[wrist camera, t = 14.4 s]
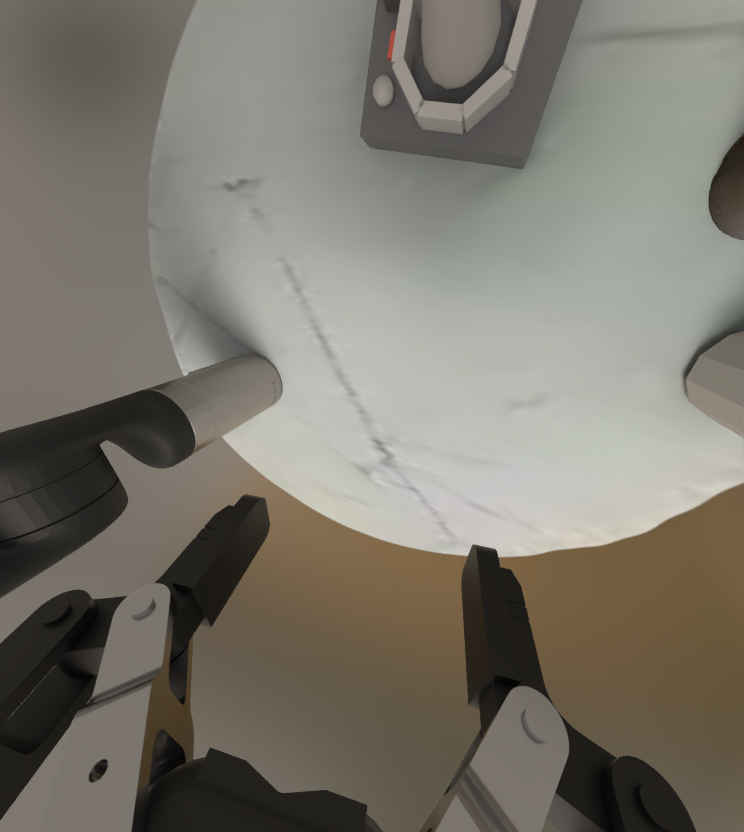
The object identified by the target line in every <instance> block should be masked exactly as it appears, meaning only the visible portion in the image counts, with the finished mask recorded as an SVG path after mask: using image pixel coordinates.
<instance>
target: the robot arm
mask: <svg viewBox="0 0 744 832" xmlns="http://www.w3.org/2000/svg"><path fill="white" fill-rule="evenodd" d="M281 392H282V384H281V380H280V377H279V375H278V373H277V371H276V369H275V368H274V367H273V366H272V364H271V363H269V362H268V361H267V360H266V359H264V358H262V357H260V356H257V355H247V356H244V357H241V358H237V357H236V358H233V359H229V360H226V361H223V362H220V363H217V364H214V365H211V366H208V367H205V368H202V369H198V370H195V371H192V372H190V373H188V375H187V376H184V377H181V378H178V379H175V380H172V381H169V382H166V383H163V384H160V385H157V386H154V387H151V388H148V389H145V390H141V391H138V392H135V393H132V394H129V395H127V396H123V397H120V398H117V399H114V400H111V401H108V402H105V403H101V404H98V405H95V406H92V407H89V408H86V409H83V410H80V411H76V412H73V413H69V414H66V415H63V416H59V417H55V418H52V419H48V420H44V421H41V422H37V423H33V424H30V425H26V426H23V427H19V428H15V429H12V430H8V431H5V432H1V433H0V598H2V597H3V596H5V595H6V594H8V593H9V592H11V591H13V590H14V589H16V588H17V587H19V586H21V585H22V584H24V583H25V582H27V581H29V580H30V579H32V578H33V577H35V576H36V575H38V574H40V573H41V572H43V571H44V570H46V569H47V568H49V567H51V566H52V565H54V564H55V563H57V562H58V561H60V560H62V559H63V558H65V557H66V556H68V555H69V554H71V553H72V552H74V551H76V550H77V549H79V548H80V547H82V546H83V545H84V544H86V543H87V542H89V541H90V540H92V539H93V538H94V537H96V536H97V535H98V534H100V533H101V532H102V531H104V530H105V529H106V528H107V527H108V526H110V525H111V524H112V523H113V522H114V521H115V520H116V519H117V518H118V517H119V516H120V515H121V514H122V513H123V511H124V510H125V508H126V506H127V503H128V497H127V493H126V491H125V489H124V487H123V485H122V483H121V481H120V480H119V478H118V476H117V474H116V473H115V471H114V469H113V467H112V466H111V464H110V462H109V461H108V459H107V457H106V456H105V454H104V452H103V450H102V449H101V447H100V444H101V443H102V442H104V441H106V440H108V441H110V442H112V443H114V444H116V445H118V446H119V447H121V448H122V449H123V450H125V451H126V452H128V453H129V454H130V455H131V456H133V457H134V458H136V459H137V460H139V461H140V462H142V463H144V464H146V465H148V466H151V467H154V468H169V467H172V466H174V465H176V464H178V463H180V462H181V461H183V460H185V459H186V458H188V457H189V456H191V455H193V454H194V453H196V452H198V451H199V450H201V449H202V448H204V447H205V446H207V445H209V444H210V443H212V442H214V441H215V440H217V439H218V438H220V437H222V436H223V435H225V434H227V433H228V432H230V431H232V430H233V429H235V428H237V427H238V426H240V425H241V424H243V423H245V422H246V421H248V420H250V419H251V418H253V417H254V416H256V415H258V414H259V413H261V412H263V411H264V410H266V409H268V408H269V407H271V406H272V405H274V404H275V403H277V402H278V400H279V399H280V396H281ZM269 527H270V522H269V516H268V511H267V505H266V500H265V499H264V498H261V497H257V496H252V495H248V494H246V495H243V496H242V497H241V498H240V500H239V501H238V502H237V503H236V504H235V506H230V505H228V506H227V507H225V508H224V509H222V510H221V511H219V512H218V513H216V514H215V515H214V516H213V517H212V518H211V520H210V521H209V522H208V523H207V524H206V525H205V528H204V529H202V530H201V531H200V532H199V534H198V535H197V536H196V538H195V539H193V541H192V542H191V543H190V544H189V545H188V546H187V547H186V549H185V550H184V551H183V552H182V553H181V554H180V556H179V557H178V558H177V559H176V560H175V562H174V563H173V564H172V565H171V566H170V567H169V568H168V570H167V571H166V572H165V573H164V574H163V575H162V576H161V577H160V578H159V579H158V580H157V581H156V582H155V583H154V584H149V585H146V586H143V587H141V588H139V589H137V590H135V591H134V592H132V593H131V594H130V595H128V596H124V597H114V598H104V599H94V600H93V599H92V598H91V596H90V595H89V594H88V593H87V592H86V591H83V590H72V591H68V592H65V593H62V594H60V595H58V596H56V597H54V598H52V599H50V600H49V601H47V602H46V603H44V604H43V605H42V606H40V607H39V608H38V609H37V610H36V611H35V612H34V613H33V614H32V615H31V616H30V617H28V618H27V619H26V620H25V621H24V622H23V623H22V624H21V625H20V626H19V627H18V628H17V629H16V630H14V631H13V632H12V633H11V634H10V635H9V636H8V637H7V638H6V639H5V640H4V641H3V642H2V643H1V644H0V820H1V819H2V817H3V816H4V815H5V813H6V812H7V810H8V809H9V808H10V806H11V805H12V804H13V802H14V801H15V800H16V798H17V797H18V796H19V794H20V793H21V792H22V790H23V789H24V787H25V786H26V785H27V783H28V782H29V781H30V779H31V778H32V777H33V775H34V774H35V772H36V771H37V770H38V768H39V767H40V766H41V764H42V763H43V762H44V760H45V759H46V758H47V756H48V755H49V754H50V752H51V751H52V750H53V748H54V747H55V745H56V744H57V743H58V741H59V740H60V739H61V737H62V736H63V735H64V733H65V732H66V731H67V729H68V728H69V726H70V728H69V731H68V735H67V738H66V742H65V745H64V749H63V752H62V756H61V759H60V763H59V766H58V770H57V773H56V776H55V780H54V783H53V787H52V790H51V794H50V797H49V800H48V804H47V807H46V811H45V814H44V818H43V821H42V825H41V828H40V832H383V831H382V830H381V828H380V827H379V826H378V825H377V823H376V822H375V821H374V820H373V819H372V818H371V817H369V816H368V815H367V814H366V812H367V805H365V804H363V803H360V802H357V801H355V800H352V799H349V798H346V797H344V796H341V795H338V794H335V793H333V792H330V791H327V790H321V791H307V792H295V793H280V792H278V791H277V790H276V789H275V788H274V787H273V786H272V785H270V784H269V782H268V781H266V780H265V779H264V778H263V777H262V776H261V775H260V774H259V773H258V772H257V771H256V770H255V769H254V768H253V767H252V766H251V765H250V764H249V763H248V762H247V761H245V760H243V759H240V758H237V757H235V756H232V755H229V754H226V753H224V752H221V751H218V750H215V749H213V748H210V749H209V751H208V753H207V755H206V757H204V758H200V759H196V760H193V755H194V727H193V719H192V714H191V703H190V702H191V680H192V659H193V634H194V632H195V631H196V630H197V628H198V627H199V625H200V624H202V625H205V626H208V627H212V625H213V624H214V622H215V620H216V619H217V617H218V616H219V614H220V612H221V611H222V609H223V607H224V606H225V604H226V603H227V601H228V599H229V598H230V596H231V594H232V593H233V591H234V589H235V588H236V586H237V585H238V583H239V581H240V580H241V578H242V576H243V575H244V573H245V572H246V570H247V568H248V567H249V565H250V563H251V562H252V560H253V558H254V557H255V555H256V554H257V552H258V550H259V549H260V547H261V545H262V544H263V542H264V541H265V539H266V537H267V534H268V531H269ZM462 604H463V621H464V638H465V655H466V671H467V687H468V688H467V689H468V705H469V706H471V707H475V708H478V709H480V720H481V728H480V730H479V731H478V733H477V735H476V737H475V738H474V740H473V742H472V744H471V746H470V747H469V749H468V751H467V752H466V754H465V756H464V757H463V759H462V761H461V763H460V765H459V766H458V768H457V770H456V771H455V773H454V775H453V777H452V778H451V780H450V782H449V784H448V785H447V787H446V789H445V791H444V792H443V794H442V796H441V797H440V799H439V800H438V802H437V803H436V805H435V806H434V808H433V809H432V811H431V813H430V814H429V816H428V818H427V819H426V821H425V823H424V824H423V826H422V828H421V829H420V831H419V832H541V831H542V828H543V825H544V822H545V820H546V819H547V820H549V821H550V822H551V823H552V824H554V825H555V826H556V827H557V828H558V829H559V830H561V831H562V832H696V830H695V828H694V825H693V822H692V820H691V818H690V816H689V814H688V812H687V810H686V808H685V806H684V805H683V803H682V801H681V800H680V798H679V797H678V795H677V794H676V792H675V791H674V790H673V788H672V787H671V786H670V785H669V784H668V782H667V781H666V780H665V779H664V778H663V777H662V776H661V775H660V774H659V773H658V772H657V771H656V770H655V769H654V768H652V767H651V766H650V765H648V764H647V763H645V762H644V761H642V760H640V759H638V758H636V757H632V756H622V757H619V758H618V759H617V758H616V757H614V756H613V755H611V754H610V753H608V752H607V751H605V750H604V749H603V748H601V747H600V746H598V745H597V744H595V743H594V742H592V741H591V740H589V739H588V738H586V737H585V736H583V735H582V734H580V733H579V732H578V731H577V730H575V729H574V728H573V727H572V726H571V725H570V724H569V723H567V721H566V720H565V719H564V718H563V717H562V716H561V715H560V713H559V712H558V711H557V709H556V708H555V706H554V705H553V703H552V701H551V699H550V697H549V696H548V693H547V690H546V688H545V685H544V681H543V677H542V673H541V668H540V664H539V660H538V656H537V651H536V647H535V643H534V639H533V635H532V631H531V626H530V623H529V618H528V614H527V609H526V608H525V601H524V597H523V592H522V589H521V585H520V584H519V582H518V581H517V579H516V577H515V576H514V574H513V572H512V571H511V570H510V569H506V568H501V567H500V564H499V559H498V554H497V551H496V550H495V549H492V548H488V547H483V546H479V545H472V547H471V550H470V552H469V555H468V558H467V560H466V563H465V566H464V569H463V573H462ZM54 666H55V667H54ZM53 667H54V668H53ZM52 668H53V669H52ZM51 669H52V670H51ZM50 670H51V671H50ZM49 672H50V673H49ZM48 673H49V674H48ZM47 674H48V675H47ZM46 675H47V676H46ZM45 676H46V677H45ZM44 677H45V678H44ZM43 678H44V679H43ZM41 681H42V682H41ZM40 682H41V683H40ZM39 683H40V684H39ZM38 684H39V685H38ZM37 685H38V686H37ZM36 686H37V687H36ZM35 687H36V688H35ZM33 690H34V691H33ZM32 691H33V692H32ZM31 692H32V693H31ZM30 693H31V694H30ZM29 694H30V695H29ZM28 695H29V697H28ZM26 698H27V699H26ZM90 698H91V699H90ZM25 699H26V700H25ZM89 699H90V701H89ZM24 700H25V701H24ZM23 701H24V702H23ZM88 701H89V702H88ZM22 702H23V703H22ZM87 702H88V703H87ZM21 703H22V704H21ZM86 703H87V704H86ZM20 704H21V705H20ZM19 706H20V707H19ZM18 707H19V708H18ZM17 708H18V709H17ZM16 709H17V710H16ZM15 710H16V711H15ZM14 711H15V712H14ZM13 712H14V714H13V715H12V713H13ZM11 715H12V716H11ZM10 716H11V717H10ZM9 717H10V718H9ZM8 718H9V719H8ZM7 719H8V720H7ZM4 723H5V724H4Z"/></svg>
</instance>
